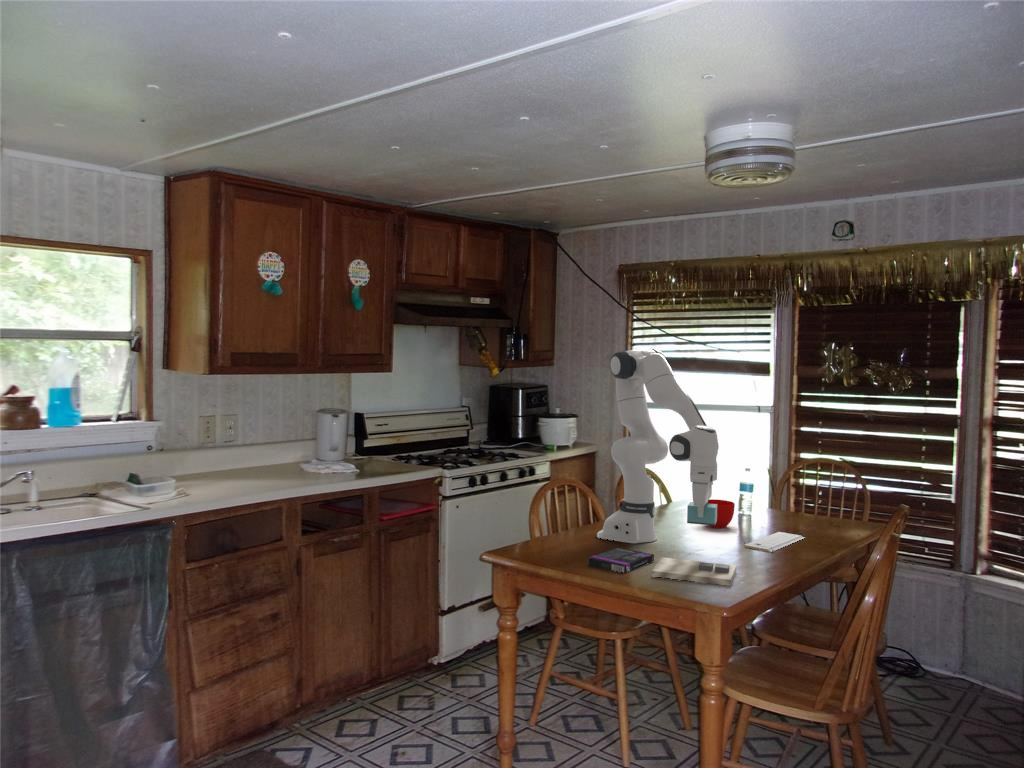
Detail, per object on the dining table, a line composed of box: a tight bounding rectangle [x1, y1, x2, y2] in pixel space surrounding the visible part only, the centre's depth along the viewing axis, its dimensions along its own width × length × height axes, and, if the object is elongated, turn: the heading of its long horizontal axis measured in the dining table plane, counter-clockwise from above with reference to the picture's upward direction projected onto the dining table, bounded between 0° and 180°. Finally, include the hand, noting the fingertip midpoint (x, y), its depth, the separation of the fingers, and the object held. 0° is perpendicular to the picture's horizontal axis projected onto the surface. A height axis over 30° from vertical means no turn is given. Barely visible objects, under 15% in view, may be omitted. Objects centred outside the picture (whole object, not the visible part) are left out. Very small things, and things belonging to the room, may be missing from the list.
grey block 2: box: [715, 563, 731, 573], centre depth 250 cm, size 4×4×2 cm
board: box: [651, 557, 737, 587], centre depth 253 cm, size 24×18×2 cm
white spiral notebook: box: [743, 531, 806, 553], centre depth 298 cm, size 31×3×12 cm
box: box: [588, 546, 655, 574], centre depth 265 cm, size 14×4×20 cm
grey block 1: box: [699, 561, 714, 572], centre depth 252 cm, size 4×4×2 cm
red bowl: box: [708, 499, 735, 529], centre depth 327 cm, size 13×17×10 cm
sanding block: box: [686, 501, 717, 526], centre depth 268 cm, size 9×6×6 cm
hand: (702, 514), depth 268 cm, fingers closed on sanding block, 6 cm apart
